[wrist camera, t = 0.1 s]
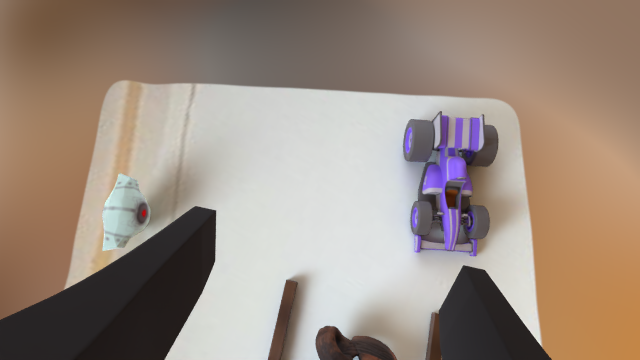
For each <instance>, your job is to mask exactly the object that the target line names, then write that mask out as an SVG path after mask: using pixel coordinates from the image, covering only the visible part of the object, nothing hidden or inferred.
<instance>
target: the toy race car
mask: <svg viewBox="0 0 640 360" xmlns="http://www.w3.org/2000/svg"><path fill="white" fill-rule="evenodd" d="M458 149H462V150H458ZM432 150H436V151H437V157H436V163H434V162H427V161H428V160H429V158H430V156H431V153H432ZM497 150H498V134H497V131H496V129H495V127H494V126H492V125H485V124H484V115H481V116H480V117H479V118H470V119H467V118H454V117H448V116H443V115H442V111H440V112H439V113H438V114H437V116H436V117H435V118H434V120H433V121H432V122H431V121H428V120H415V119H411V120H409V122H408V124H407V126H406V130H405V134H404V143H403V151H404V157H405V160H406V161H415V162H427V163H426V164H425V167H424V171H423V175H422V178H421V182H420V186H419V191H418V201H415V202H414V204H413V206H412V210H411V229H412V232H413V233H414V234H419V235H415V252H420V249H432V250H446V251H460V252H469V253H470V256H476V251H477V240H476V239H483V238H485V237H486V235H487V233H488V230H489V223H490V220H489V213H488V211H487V209H486V208H485V207H484V206H477V205H470V203H469V197H472V194H473V188H472V183H471V180H470V177H469V175H468V174H467V169H466V165H469V166H482V167H488V166H490V165H491V164H492V162H493V161H494V159H495V157H496V154H497ZM459 152H462V157H460V156H459ZM432 210H436V211H441V212H438V213H437V214H439V215H433V213H432ZM461 212H463V213H464V214H462V215H461ZM461 216H464V217H461ZM433 217H439V218H433ZM461 219H463V220H461ZM432 220H440V221H432ZM461 222H463V223H461ZM432 223H440V226H441V231H443V233H444V240H445V243H433V242H428V241H425V240H423V239H421V236H420V235H428V234H429V232H430V230H431V227H432ZM460 225H463V227H464V232H465V234H466V236H467V237H468V238H475V239H469V242H468V243H464V244H456V242H457V238H458V235H459V231H460Z"/></svg>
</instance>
